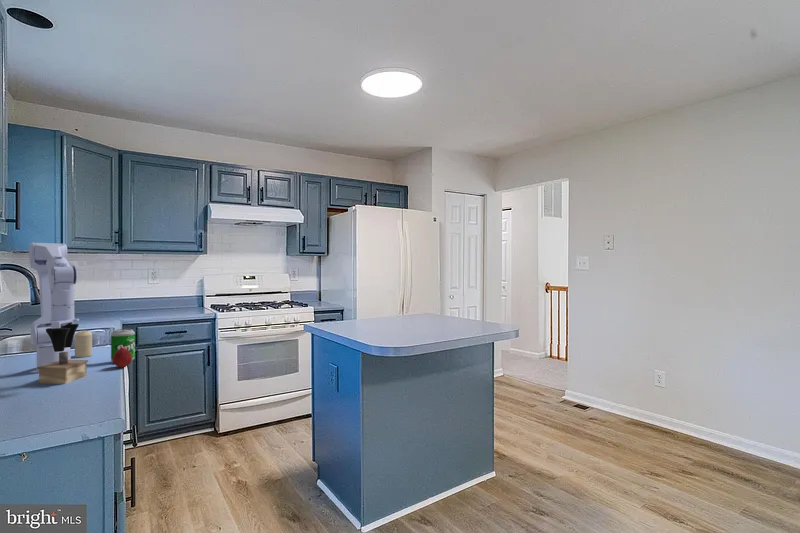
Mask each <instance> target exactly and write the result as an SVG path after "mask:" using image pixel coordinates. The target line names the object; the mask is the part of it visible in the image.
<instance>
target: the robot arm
mask: <svg viewBox="0 0 800 533" xmlns="http://www.w3.org/2000/svg"><path fill="white" fill-rule="evenodd" d="M28 257H29V258H28V259H29V266H30V269H33V270H35V271H36V273H37V275H38V280H39V282H38V284H39V285H38V286H39V300H40V301H39V302H40V317H39V318H37V319H36V320H33V322H32V323H31V325H30V344H31V345H32V346H35V347H36V369H35V370H32V371H30V373H34V374H35V373H38V374H39V369H37V367H39V366H43V365H46V364H49V363H53V362H56V361H59V353H60V352H68V360H72V359H71V358H72V351H71V347H72V345H73V341H74V338H75V335H76V332H77V329H78V327H79V325H80V324H79V323H75V322H79V321H80V318H75V285H76V284H77V280H78V272H77V268H76V266H75V265H71V264H70V263H69V261H68V246H67V244H66V243H63V242H62V243H55V242H54V243H51V242H49V243H48V242H35V241H33V242H31V243H29V245H28Z"/></svg>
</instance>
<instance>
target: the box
mask: <svg viewBox="0 0 800 533" xmlns="http://www.w3.org/2000/svg"><path fill="white" fill-rule="evenodd" d="M84 377H85V378H86V377H87V363H84V364H81V365H78V366H75V367H72V368H69V369H39V373H38V385H39V384H40V385H41V384H44V385H45V384H49V385H50V384H51V385H52V384H53V385H54V384H55V385H56V384H57V385H58V384H59V385H60V384H61V385H63V384H64V385H65V384H69V383H71V382H75V381H76V380H79V379H82V378H84Z"/></svg>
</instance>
